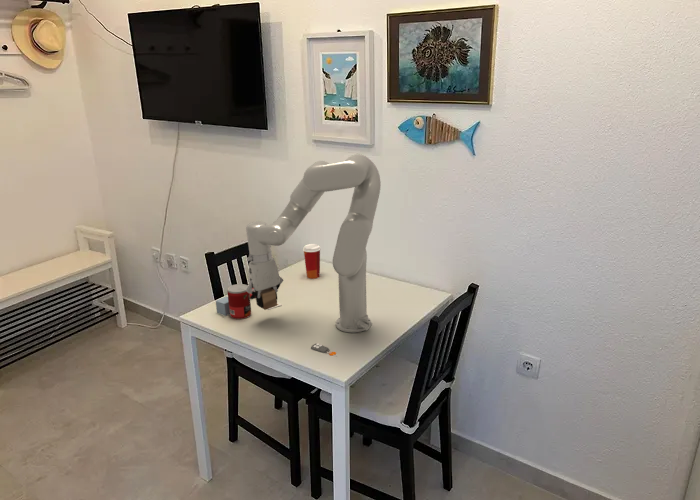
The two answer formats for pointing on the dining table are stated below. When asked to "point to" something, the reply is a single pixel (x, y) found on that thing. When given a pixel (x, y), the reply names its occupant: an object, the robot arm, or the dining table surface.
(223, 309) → the slate block
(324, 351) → the key chain
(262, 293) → the walnut block
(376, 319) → the dining table surface
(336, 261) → the robot arm
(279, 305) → the swatch
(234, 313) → the canned food
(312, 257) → the paper cup
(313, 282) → the dining table surface
